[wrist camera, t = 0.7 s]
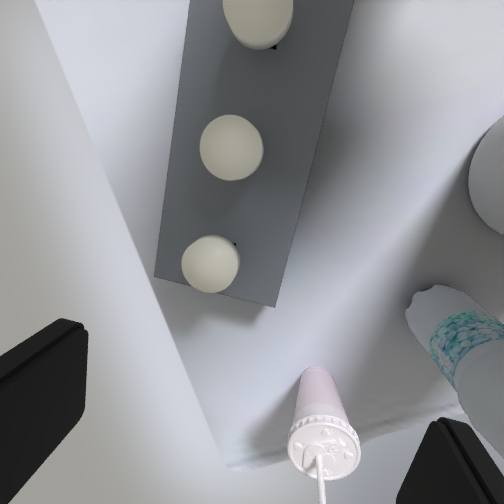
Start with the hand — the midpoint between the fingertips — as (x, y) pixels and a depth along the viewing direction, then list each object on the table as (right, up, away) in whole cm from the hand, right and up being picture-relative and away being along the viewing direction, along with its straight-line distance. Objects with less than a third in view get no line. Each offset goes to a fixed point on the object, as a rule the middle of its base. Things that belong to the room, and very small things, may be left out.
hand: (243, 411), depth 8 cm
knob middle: (0, +13, +20) cm, 24 cm away
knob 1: (-2, +5, +22) cm, 23 cm away
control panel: (0, +14, +22) cm, 26 cm away
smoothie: (+8, -11, +28) cm, 31 cm away
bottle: (+19, -2, +24) cm, 31 cm away
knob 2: (+1, +22, +17) cm, 27 cm away
